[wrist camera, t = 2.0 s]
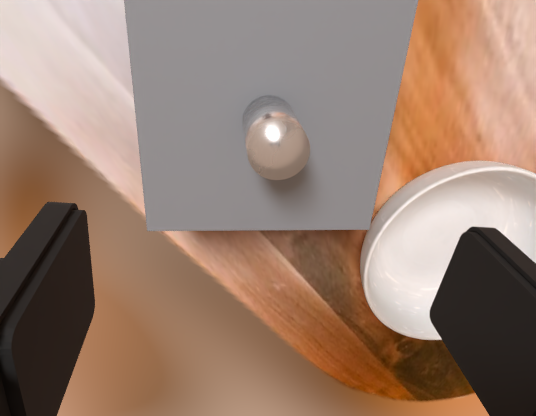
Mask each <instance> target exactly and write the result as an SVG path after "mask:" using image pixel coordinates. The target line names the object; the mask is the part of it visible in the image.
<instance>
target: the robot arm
mask: <svg viewBox="0 0 536 416" xmlns="http://www.w3.org/2000/svg"><path fill="white" fill-rule="evenodd" d="M94 308H95V299H94V288H93V277H92V266H91V256H90V245H89V234H88V224H87V215H86V212H85V210H78V207H77V205H76V204H75V203H58V202H47V203H46V204H45V205H44V207H43V208H42V209H41V211H40V212H39V213H38V214H37V216H36V217H35V218H34V220H33V221H32V222H31V224H30V225H29V226H28V228H27V229H26V230H25V231H24V233H23V234H22V235H21V237H20V238H19V239H18V241H17V242H16V243H15V245H14V246H13V247H12V248H11V250H10V251H9V252H8V254H7V255H6V256H5V258H0V416H57V413H58V410H59V408H60V405H61V402H62V400H63V397H64V394H65V391H66V389H67V386H68V383H69V380H70V378H71V375H72V372H73V369H74V367H75V364H76V361H77V359H78V356H79V353H80V350H81V348H82V345H83V342H84V339H85V337H86V334H87V331H88V328H89V326H90V323H91V320H92V318H93V314H94ZM430 320H431V323H432V324H433V326H434V328H435V329H436V331H437V332H438V334H439V336H440V337H441V339H442V340H443V342H444V344H445V345H446V347H447V348H448V350H449V352H450V353H451V355H452V356H453V358H454V359H455V361H456V363H457V364H458V366H459V367H460V369H461V371H462V372H463V374H464V375H465V377H466V379H467V380H468V382H469V383H470V385H471V387H472V388H473V390H474V391H475V393H476V395H477V396H478V398H479V399H480V401H481V402H482V404H483V406H484V407H485V409H486V411H487V412H488V414H489V415H490V416H536V263H535V262H534V261H532V260H531V259H530V258H529V257H528V256H527V255H526V254H525V253H523V252H522V251H521V250H520V249H519V248H518V247H517V246H516V245H514V244H513V243H512V242H511V241H510V240H509V239H508V238H507V237H505V236H504V235H503V234H502V233H501V232H500V231H499V230H497V229H496V228H490V227H470V228H469V229H468V230H467V231H466V232H464V233H462V234H461V236H460V238H459V241H458V243H457V246H456V248H455V250H454V253H453V255H452V258H451V260H450V262H449V265H448V267H447V270H446V272H445V274H444V277H443V279H442V282H441V284H440V286H439V289H438V291H437V294H436V296H435V298H434V301H433V303H432V306H431V308H430Z"/></svg>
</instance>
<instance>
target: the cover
mask: <svg viewBox="0 0 536 416" xmlns="http://www.w3.org/2000/svg"><path fill="white" fill-rule="evenodd" d="M124 3H125V13H126V23H127V33H128V43H129V53H130V63H131V73H132V83H133V93H134V103H135V113H136V123H137V133H138V143H139V153H140V163H141V173H142V183H143V193H144V203H145V213H146V223H147V231H235V230H369V229H370V224H371V219H372V215H373V210H374V205H375V201H376V196H377V191H378V186H379V182H380V177H381V172H382V168H383V163H384V158H385V154H386V149H387V144H388V140H389V135H390V130H391V126H392V121H393V116H394V111H395V107H396V102H397V97H398V93H399V88H400V83H401V79H402V74H403V69H404V65H405V60H406V55H407V50H408V46H409V41H410V36H411V32H412V27H413V22H414V18H415V13H416V8H417V4H418V0H124Z"/></svg>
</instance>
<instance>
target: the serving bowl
mask: <svg viewBox="0 0 536 416" xmlns="http://www.w3.org/2000/svg"><path fill="white" fill-rule="evenodd" d="M470 227H490V228H496V229H497V230H499V231H500V232H501V233H502V234H503V235H504V236H505V237H507V238H508V239H509V240H510V241H511V242H512V243H513V244H514V245H516V246H517V247H518V248H519V249H520V250H521V251H522V252H523V253H525V254H526V255H527V256H528V257H529V258H530V259H531V260H532V261H534V262H535V263H536V174H535V173H533V172H531V171H528V170H525V169H522V168H519V167H516V166H513V165H510V164H505V163H500V162H493V161H466V162H459V163H454V164H450V165H446V166H442V167H439V168H437V169H434V170H431V171H429V172H427V173H425V174H423V175H420V176H419V177H417V178H415V179H413V180H412V181H410V182H409V183H407V184H406V185H404V186H403V187H402V188H400V189H399V190H398V191H397V192H396V193H395V194H393V195H392V196H391V197H390V198H389V199H388V200H387V201H386V203H385V204H384V205H383V206H382V207H381V209H380V210H379V211H378V213H377V214H376V216H375V217H374V219H373V221H372V222H371V224H370V229H369V230H368V231H367V233H366V236H365V239H364V242H363V246H362V250H361V257H360V274H361V281H362V286H363V290H364V294H365V297H366V300H367V303H368V305H369V307H370V308H371V310H372V312H373V313H374V315H375V316H376V317H377V318H378V319H379V320H380V321H381V322H382V323H383V324H384V325H386V326H387V327H388V328H390V329H392V330H393V331H395V332H397V333H400V334H402V335H405V336H408V337H412V338H417V339H423V340H442V339H441V337H440V336H439V334H438V332H437V331H436V329H435V328H434V326H433V324H432V323H431V320H430V308H431V306H432V303H433V301H434V298H435V296H436V294H437V291H438V289H439V286H440V284H441V282H442V279H443V277H444V274H445V272H446V270H447V267H448V265H449V262H450V260H451V258H452V255H453V253H454V250H455V248H456V246H457V243H458V241H459V238H460V236H461V234H462V233H464V232H466V231H467V230H468V229H469V228H470Z"/></svg>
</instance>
